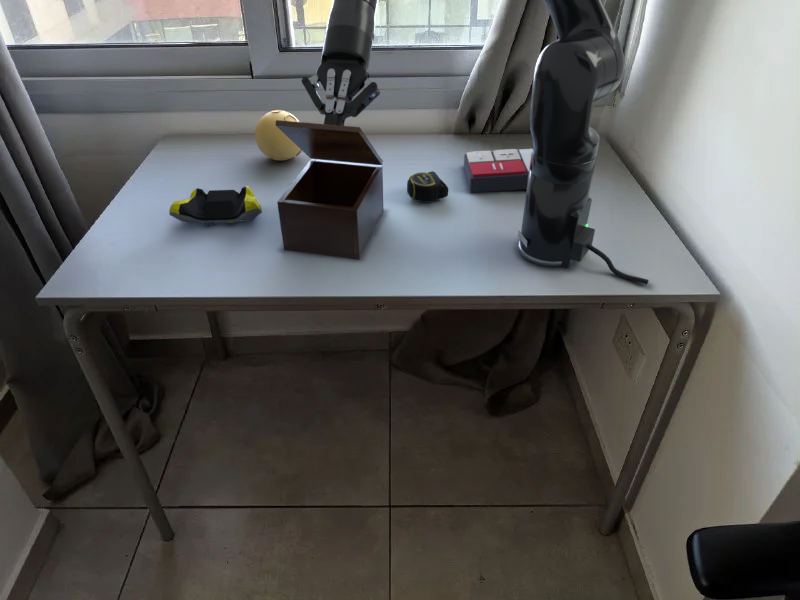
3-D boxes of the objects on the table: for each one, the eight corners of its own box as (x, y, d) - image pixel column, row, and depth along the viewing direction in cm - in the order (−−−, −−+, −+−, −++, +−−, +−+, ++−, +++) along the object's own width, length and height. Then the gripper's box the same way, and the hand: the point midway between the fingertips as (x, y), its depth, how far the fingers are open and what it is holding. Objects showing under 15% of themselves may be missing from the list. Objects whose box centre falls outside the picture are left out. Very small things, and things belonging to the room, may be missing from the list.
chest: (359, 259, 99) (356, 210, 93) (283, 250, 101) (276, 201, 95) (383, 211, 111) (382, 165, 105) (315, 204, 113) (311, 158, 108)
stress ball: (298, 170, 124) (293, 121, 118) (251, 167, 126) (244, 119, 119) (312, 149, 132) (307, 103, 126) (267, 147, 133) (261, 101, 127)
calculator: (463, 150, 123) (539, 144, 123) (463, 170, 125) (537, 165, 125) (470, 174, 114) (552, 169, 114) (470, 195, 117) (550, 190, 116)
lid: (359, 132, 89) (359, 127, 89) (275, 125, 91) (275, 119, 91) (382, 165, 105) (382, 160, 105) (310, 158, 107) (311, 154, 107)
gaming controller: (262, 233, 105) (268, 204, 113) (257, 204, 102) (263, 177, 110) (172, 236, 104) (184, 207, 112) (164, 207, 101) (177, 179, 109)
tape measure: (449, 202, 113) (450, 184, 111) (413, 208, 112) (414, 189, 109) (436, 186, 118) (436, 168, 116) (402, 191, 117) (402, 173, 115)
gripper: (303, 20, 97) (283, 126, 95) (385, 24, 94) (367, 133, 92) (317, 46, 104) (299, 144, 102) (393, 51, 102) (377, 152, 100)
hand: (331, 139), depth 97 cm, fingers closed
